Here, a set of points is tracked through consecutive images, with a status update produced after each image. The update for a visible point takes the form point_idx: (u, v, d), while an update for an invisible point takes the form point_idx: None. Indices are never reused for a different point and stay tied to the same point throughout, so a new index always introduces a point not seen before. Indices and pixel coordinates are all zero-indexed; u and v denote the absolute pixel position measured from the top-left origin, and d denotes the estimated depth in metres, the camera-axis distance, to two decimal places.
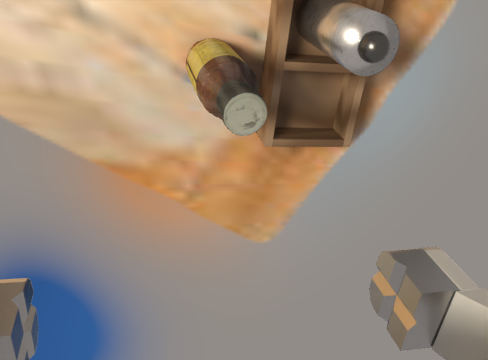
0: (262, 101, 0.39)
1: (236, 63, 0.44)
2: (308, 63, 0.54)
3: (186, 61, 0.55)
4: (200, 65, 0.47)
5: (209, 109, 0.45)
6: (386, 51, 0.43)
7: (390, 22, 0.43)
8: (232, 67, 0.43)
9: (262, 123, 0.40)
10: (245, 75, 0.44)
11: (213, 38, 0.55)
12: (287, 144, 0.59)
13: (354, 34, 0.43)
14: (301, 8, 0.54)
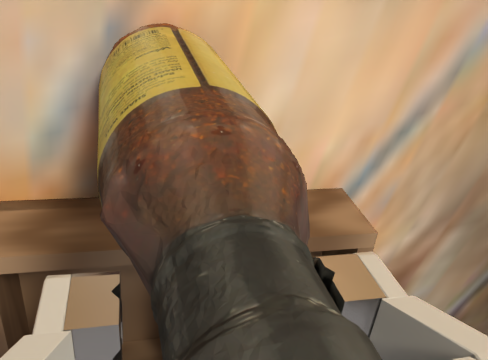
0: None
1: (308, 226, 0.14)
2: None
3: (167, 25, 0.21)
4: (243, 91, 0.15)
5: (155, 167, 0.11)
6: None
7: None
8: (307, 223, 0.13)
9: None
10: None
11: None
12: None
13: None
14: None
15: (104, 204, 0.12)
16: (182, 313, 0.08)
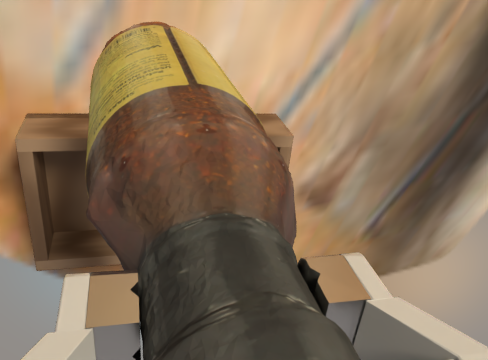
0: None
1: None
2: None
3: (159, 23, 0.22)
4: (232, 90, 0.15)
5: (140, 165, 0.11)
6: None
7: None
8: (293, 221, 0.13)
9: None
10: None
11: None
12: (25, 176, 0.34)
13: None
14: None
15: (90, 201, 0.12)
16: (162, 310, 0.08)
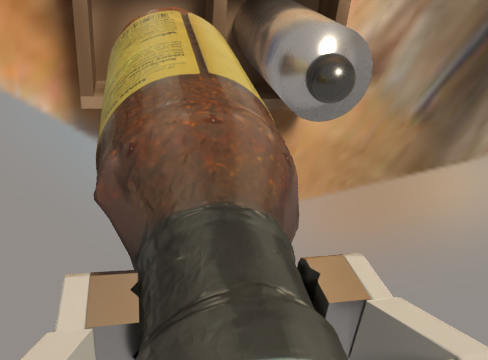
0: None
1: (297, 217, 0.14)
2: (225, 9, 0.34)
3: (177, 9, 0.22)
4: (243, 80, 0.15)
5: (146, 151, 0.11)
6: (335, 96, 0.27)
7: (355, 99, 0.29)
8: (295, 214, 0.13)
9: None
10: None
11: None
12: None
13: (347, 43, 0.27)
14: None
15: (97, 184, 0.12)
16: (157, 293, 0.09)
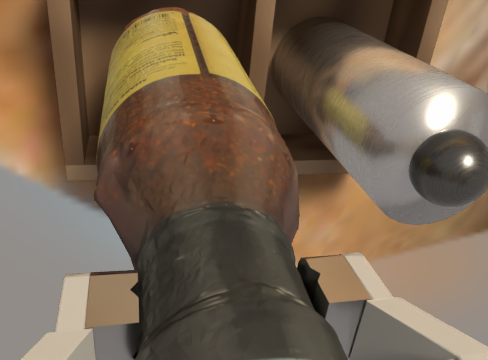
0: None
1: (298, 217, 0.14)
2: (268, 45, 0.24)
3: (178, 9, 0.22)
4: (244, 80, 0.15)
5: (146, 151, 0.11)
6: (463, 201, 0.17)
7: None
8: (295, 214, 0.13)
9: None
10: None
11: None
12: (54, 16, 0.21)
13: (479, 114, 0.17)
14: None
15: (98, 184, 0.12)
16: (157, 294, 0.09)
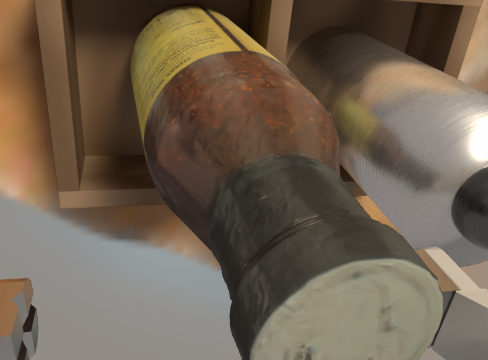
0: None
1: None
2: (283, 59, 0.22)
3: (195, 5, 0.23)
4: None
5: (209, 115, 0.12)
6: None
7: None
8: (339, 175, 0.14)
9: None
10: None
11: None
12: (45, 29, 0.19)
13: None
14: None
15: (158, 151, 0.13)
16: (247, 229, 0.10)
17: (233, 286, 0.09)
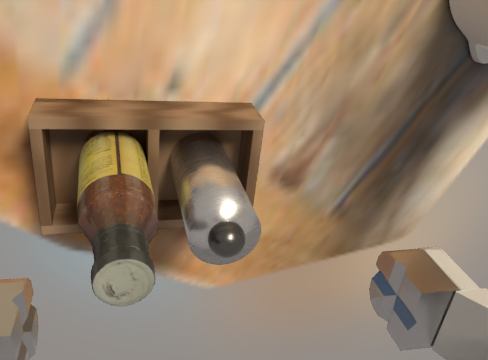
0: (143, 297, 0.30)
1: (157, 228, 0.36)
2: (157, 159, 0.43)
3: (113, 129, 0.44)
4: (137, 173, 0.37)
5: (96, 207, 0.33)
6: (228, 256, 0.36)
7: (250, 247, 0.38)
8: (154, 226, 0.35)
9: (112, 303, 0.30)
10: None
11: None
12: (35, 151, 0.40)
13: (239, 214, 0.36)
14: (211, 137, 0.47)
15: (79, 219, 0.34)
16: (99, 250, 0.30)
17: None
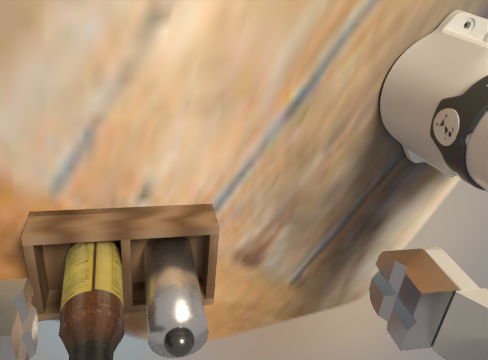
0: None
1: (123, 333, 0.45)
2: (130, 260, 0.52)
3: None
4: (108, 285, 0.46)
5: (72, 324, 0.42)
6: (179, 356, 0.44)
7: (200, 344, 0.47)
8: (120, 333, 0.44)
9: None
10: None
11: None
12: (28, 261, 0.49)
13: (189, 321, 0.45)
14: None
15: (59, 331, 0.43)
16: None
17: None
